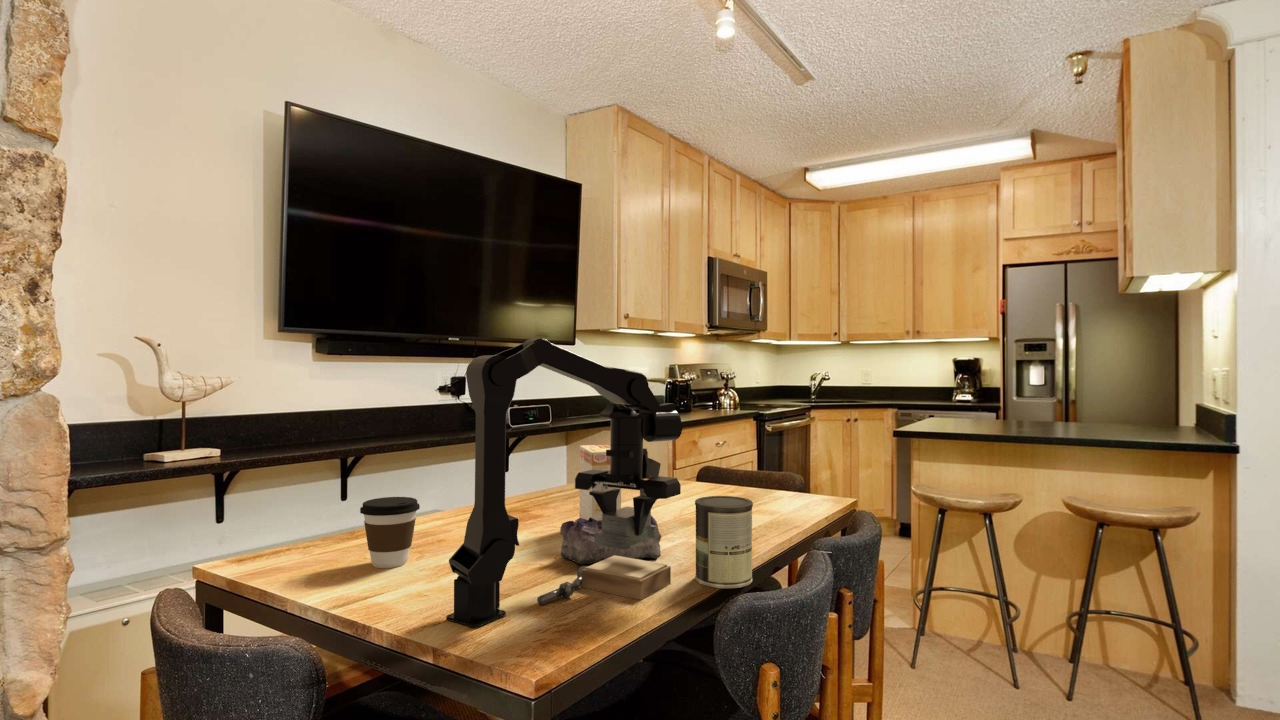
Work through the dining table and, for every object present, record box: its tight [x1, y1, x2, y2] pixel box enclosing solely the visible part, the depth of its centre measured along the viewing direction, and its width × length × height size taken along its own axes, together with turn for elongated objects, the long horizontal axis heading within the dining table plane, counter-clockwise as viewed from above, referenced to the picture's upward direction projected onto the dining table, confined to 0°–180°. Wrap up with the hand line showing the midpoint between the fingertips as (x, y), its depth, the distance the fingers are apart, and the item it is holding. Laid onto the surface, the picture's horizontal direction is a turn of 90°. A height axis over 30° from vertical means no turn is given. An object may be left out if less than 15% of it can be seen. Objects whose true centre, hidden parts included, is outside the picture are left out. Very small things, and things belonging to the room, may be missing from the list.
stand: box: [581, 555, 672, 601], centre depth 119 cm, size 10×12×3 cm
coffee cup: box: [359, 496, 421, 569], centre depth 132 cm, size 11×11×12 cm
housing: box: [594, 506, 659, 550], centre depth 119 cm, size 10×6×5 cm, turn 148°
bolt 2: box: [571, 565, 588, 590], centre depth 120 cm, size 6×2×2 cm, turn 169°
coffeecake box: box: [578, 444, 622, 521], centre depth 158 cm, size 15×7×20 cm, turn 15°
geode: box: [559, 515, 662, 565], centre depth 136 cm, size 20×12×10 cm, turn 108°
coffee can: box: [694, 495, 754, 589], centre depth 123 cm, size 10×10×14 cm
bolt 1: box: [536, 581, 575, 606], centre depth 111 cm, size 6×2×2 cm
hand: (626, 533), depth 119 cm, fingers closed on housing, 5 cm apart
